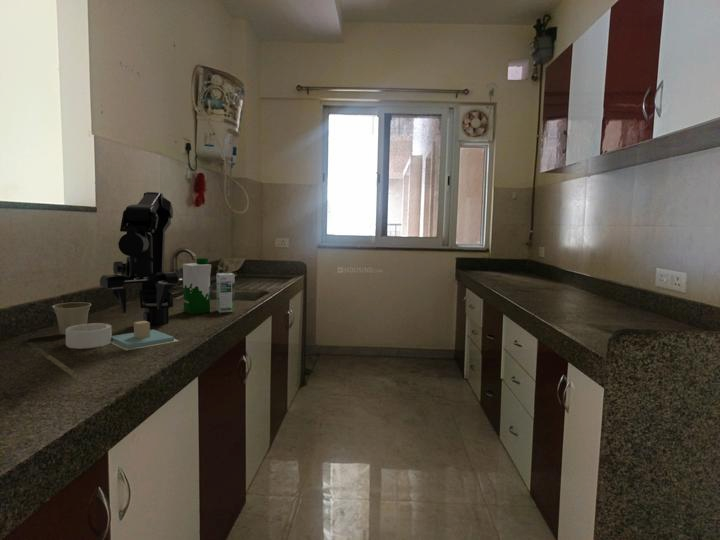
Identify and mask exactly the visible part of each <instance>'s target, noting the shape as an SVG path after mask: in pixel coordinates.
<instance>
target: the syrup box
mask: <svg viewBox="0 0 720 540" xmlns="http://www.w3.org/2000/svg"><path fill="white" fill-rule="evenodd" d="M235 276H236V275H235V273H234V272H221V273H220V272H218V273H216V311H217V312H218V313H219V314H222V313H235V311H236V309H235V308H236V307H235V306H236V305H235V304H236V303H235V301H236V300H235V299H236V298H235V293H236V292H235V290H236V289H235V284H236V283H235V279H236V277H235Z"/></svg>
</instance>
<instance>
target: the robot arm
mask: <svg viewBox="0 0 720 540" xmlns="http://www.w3.org/2000/svg"><path fill="white" fill-rule="evenodd" d="M173 218H174V208H173V205H172V201H170V200H168V199H167V198H165V197H164V195H163V193H161V192H159V191H158V192H154V191H153V192H152V191H146V192H143V197H142V198H141V199H140V201H139V202H138V203H137V204H130V205H127V206H126V207H125V209H124V210H123V211H122V217H121V222H120V228H119V232H121V233H122V232H123V233H125V232H126V233H125V234H123V235H122V236H121V237H120V238H119V241H118V243H117V245H118V249H119V251H120V252H121V253H122V254H123V255H124V256H126V257H127V258H126V263H125V262H124V263H123V261H114V262H112V263H113V265H112V266H113V267H112V271H113V274H103V275H101V277H100V278H99V286H100V287H103V288H105V289H106V290H109V291H111V292H112V293H113V295H114V297H115V299H116V300H117V303H118V305H119V308H120V310H121V312H122V314H126V313H127V312H126V311H127V288H126V287H124V285H126V284H140V283H141V288H140V290H139V303H140V309H144V311H143V313H142V314H143V315H142V319H143V320H142V321H147V322H150V327H158V326H165V325H167V324H170V322H169V319H170V317H169V313H170V312H169V309H171V308H173V307H174V298H173V293H172V291H171V288H172V287H175V284H178V283H180V280H179V279H180V276H179V274H178V273H177V272H173V271H164V270H165V244H166V242H165V241H166V240H165V239H166V231H168V229H169V227H170V226H171V222H172V219H173Z"/></svg>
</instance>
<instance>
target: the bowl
mask: <svg viewBox="0 0 720 540" xmlns="http://www.w3.org/2000/svg"><path fill="white" fill-rule="evenodd" d="M112 330H113V329H112V325H111V324H109V323H101V322H96V323H95V322H94V323H87V324H81V325H75V326H71V327H68V328H67V329H65V332H66V334H65V346H66V347H67V348H69V349H81V350H82V349H92V348H94V349H95V348H101V347H104V346H107V345H110V344H111V343H110V342H111V341H112V336H113V334H112V332H113V331H112Z"/></svg>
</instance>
